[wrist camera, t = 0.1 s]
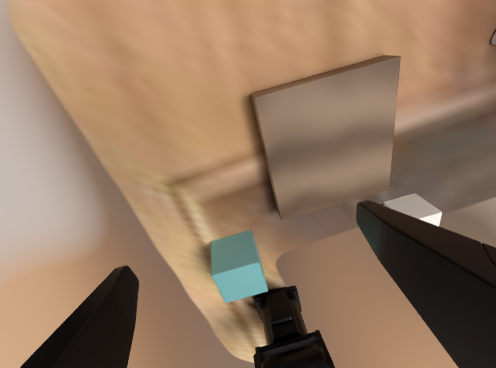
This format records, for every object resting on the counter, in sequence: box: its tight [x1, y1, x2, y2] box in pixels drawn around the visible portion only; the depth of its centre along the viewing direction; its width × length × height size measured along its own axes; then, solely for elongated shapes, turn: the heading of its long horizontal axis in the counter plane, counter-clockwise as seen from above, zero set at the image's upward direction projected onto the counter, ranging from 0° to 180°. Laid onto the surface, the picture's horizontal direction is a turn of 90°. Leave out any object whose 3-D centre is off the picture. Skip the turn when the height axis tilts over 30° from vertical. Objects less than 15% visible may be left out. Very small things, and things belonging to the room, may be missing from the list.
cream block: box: [383, 193, 442, 226], centre depth 28 cm, size 4×4×4 cm
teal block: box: [211, 230, 268, 303], centre depth 27 cm, size 5×5×5 cm
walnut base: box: [251, 55, 401, 220], centre depth 23 cm, size 13×12×2 cm
